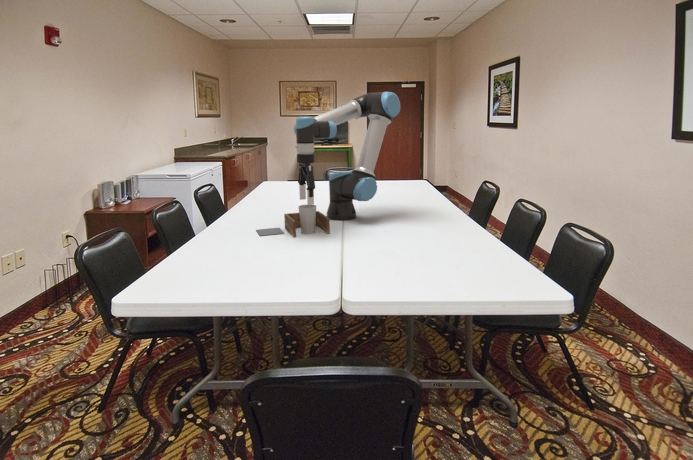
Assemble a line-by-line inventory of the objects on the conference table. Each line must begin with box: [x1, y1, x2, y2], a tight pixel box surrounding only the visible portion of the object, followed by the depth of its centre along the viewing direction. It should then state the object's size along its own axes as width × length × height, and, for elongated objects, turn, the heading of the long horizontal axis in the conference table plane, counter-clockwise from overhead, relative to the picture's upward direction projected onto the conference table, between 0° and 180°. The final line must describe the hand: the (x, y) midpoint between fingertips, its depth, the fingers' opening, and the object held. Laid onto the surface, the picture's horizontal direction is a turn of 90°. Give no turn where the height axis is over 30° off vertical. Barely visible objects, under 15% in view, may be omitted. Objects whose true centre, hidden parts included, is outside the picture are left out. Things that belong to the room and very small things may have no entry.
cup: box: [297, 204, 317, 235], centre depth 212 cm, size 8×8×12 cm
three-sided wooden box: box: [283, 210, 331, 238], centre depth 215 cm, size 16×17×7 cm
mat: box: [255, 227, 285, 237], centre depth 215 cm, size 11×11×1 cm
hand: (306, 201), depth 210 cm, fingers open, 13 cm apart
